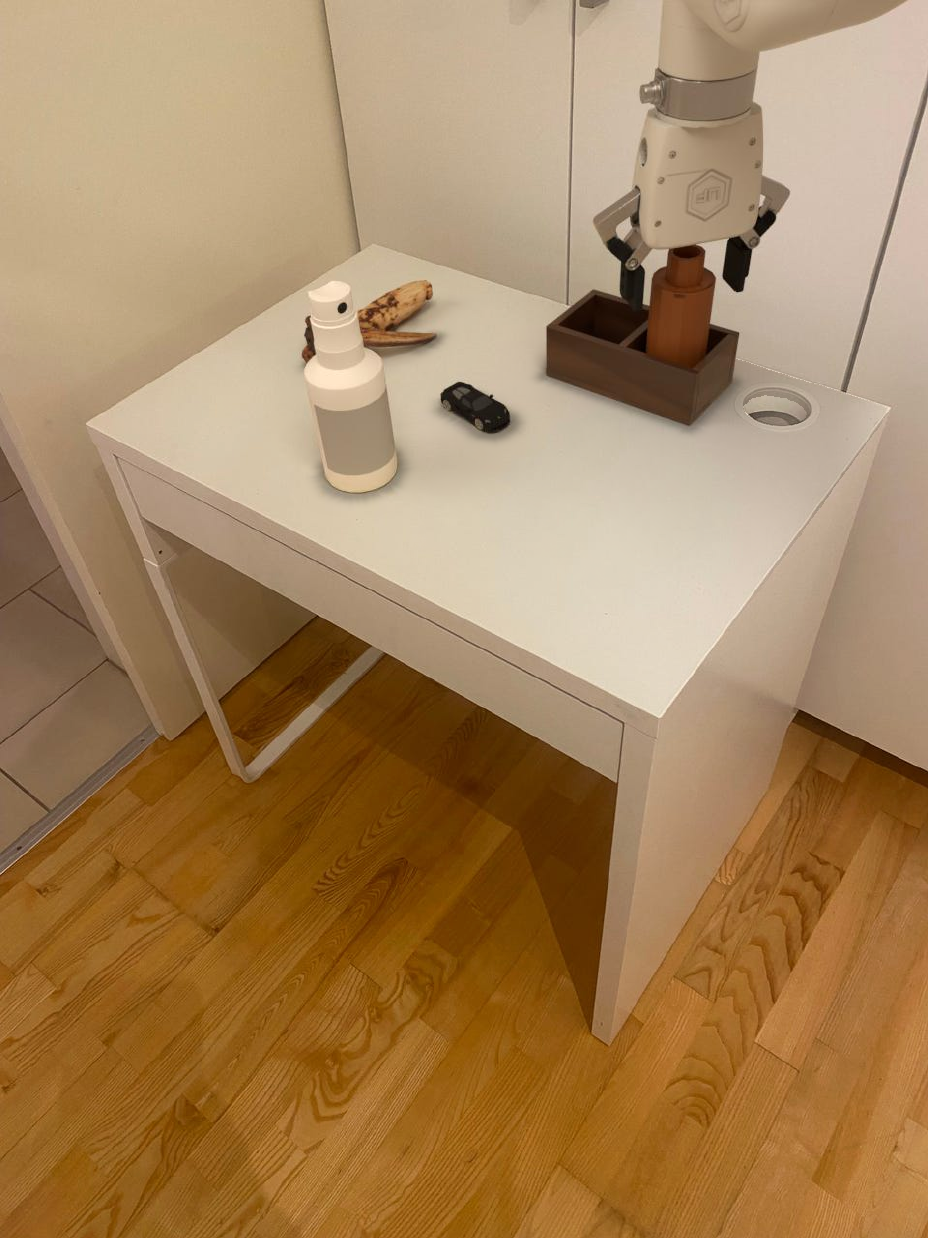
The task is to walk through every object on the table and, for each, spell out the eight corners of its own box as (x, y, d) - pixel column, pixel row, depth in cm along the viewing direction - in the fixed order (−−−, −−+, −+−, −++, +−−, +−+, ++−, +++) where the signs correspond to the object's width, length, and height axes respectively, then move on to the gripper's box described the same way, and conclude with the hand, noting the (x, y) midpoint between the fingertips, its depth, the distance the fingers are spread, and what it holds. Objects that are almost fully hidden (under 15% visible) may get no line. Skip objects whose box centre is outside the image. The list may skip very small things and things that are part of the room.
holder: (591, 337, 102) (593, 288, 98) (731, 382, 95) (740, 331, 91) (546, 375, 98) (545, 325, 94) (689, 426, 90) (696, 374, 86)
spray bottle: (352, 504, 86) (317, 322, 73) (311, 470, 90) (270, 291, 76) (412, 471, 88) (389, 289, 75) (370, 439, 92) (340, 261, 79)
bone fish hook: (345, 395, 99) (469, 321, 106) (338, 356, 95) (467, 282, 103) (290, 361, 103) (413, 292, 111) (281, 322, 100) (409, 254, 107)
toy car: (516, 422, 93) (516, 403, 91) (490, 438, 91) (489, 419, 90) (461, 390, 97) (460, 372, 95) (436, 405, 96) (434, 386, 94)
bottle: (704, 370, 95) (722, 239, 85) (697, 402, 92) (715, 268, 82) (648, 365, 97) (659, 234, 87) (639, 396, 93) (649, 263, 83)
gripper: (615, 124, 71) (605, 331, 84) (830, 89, 73) (790, 297, 86) (583, 92, 76) (579, 292, 89) (785, 60, 78) (753, 260, 91)
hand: (682, 294), depth 87 cm, fingers open, 9 cm apart
